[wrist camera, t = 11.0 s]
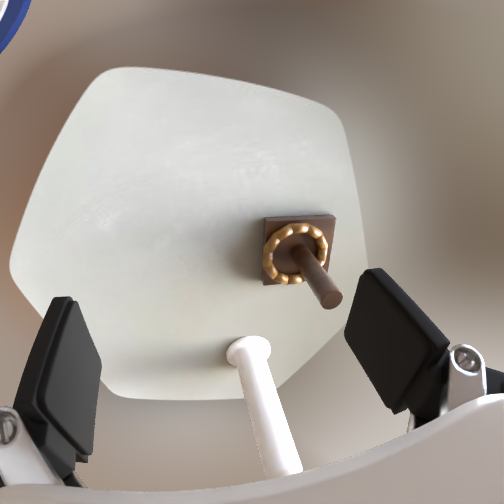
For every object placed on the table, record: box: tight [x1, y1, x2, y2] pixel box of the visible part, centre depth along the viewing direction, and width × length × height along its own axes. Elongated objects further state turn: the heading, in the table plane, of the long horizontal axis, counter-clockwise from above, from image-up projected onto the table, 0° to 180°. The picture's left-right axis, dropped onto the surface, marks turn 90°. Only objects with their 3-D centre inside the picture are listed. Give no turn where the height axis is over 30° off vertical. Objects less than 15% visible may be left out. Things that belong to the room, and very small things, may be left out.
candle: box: [226, 336, 303, 480], centre depth 35 cm, size 7×7×25 cm
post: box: [261, 215, 343, 309], centre depth 34 cm, size 9×9×11 cm
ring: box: [262, 223, 328, 285], centre depth 37 cm, size 8×8×1 cm
